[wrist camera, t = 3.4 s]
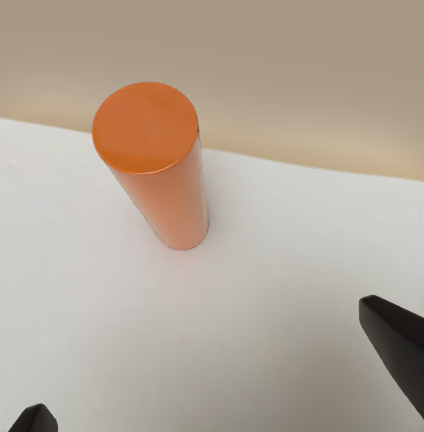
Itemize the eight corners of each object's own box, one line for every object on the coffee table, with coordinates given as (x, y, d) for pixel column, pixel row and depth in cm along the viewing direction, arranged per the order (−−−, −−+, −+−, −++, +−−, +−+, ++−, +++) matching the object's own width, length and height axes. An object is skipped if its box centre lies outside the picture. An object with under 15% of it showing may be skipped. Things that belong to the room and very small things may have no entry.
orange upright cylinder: (215, 208, 25) (212, 96, 12) (198, 257, 24) (175, 189, 11) (167, 193, 25) (117, 69, 13) (147, 240, 24) (72, 156, 12)
